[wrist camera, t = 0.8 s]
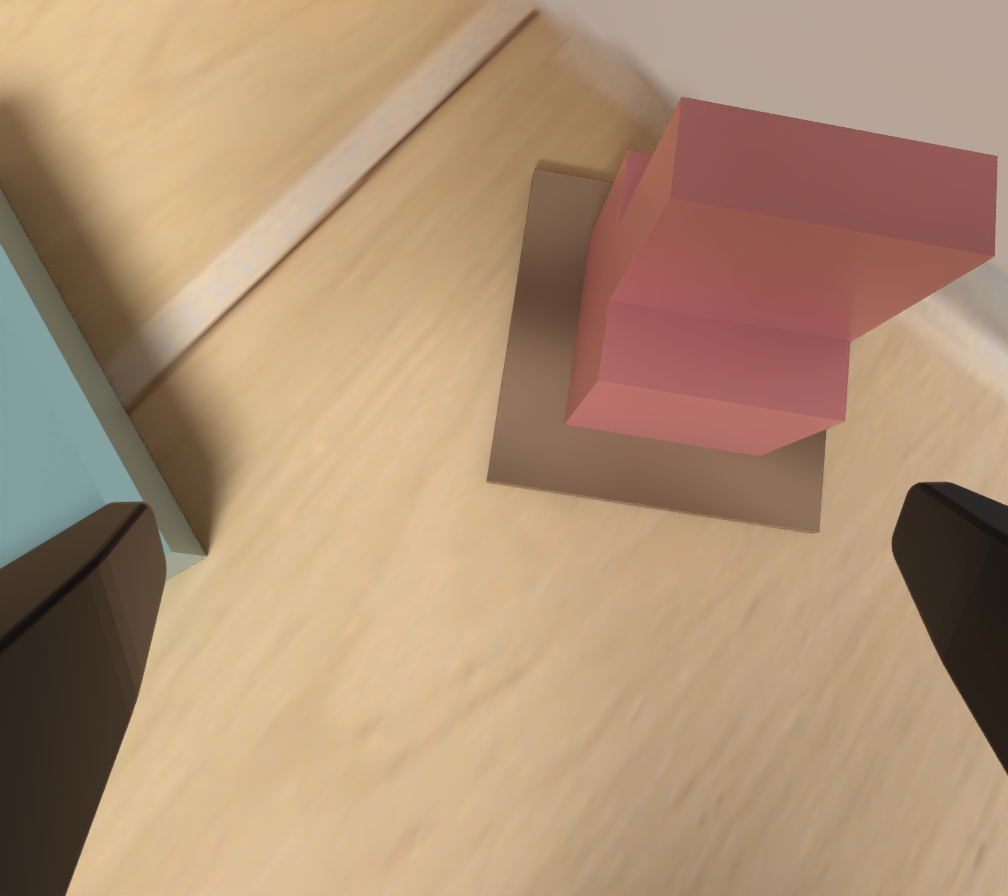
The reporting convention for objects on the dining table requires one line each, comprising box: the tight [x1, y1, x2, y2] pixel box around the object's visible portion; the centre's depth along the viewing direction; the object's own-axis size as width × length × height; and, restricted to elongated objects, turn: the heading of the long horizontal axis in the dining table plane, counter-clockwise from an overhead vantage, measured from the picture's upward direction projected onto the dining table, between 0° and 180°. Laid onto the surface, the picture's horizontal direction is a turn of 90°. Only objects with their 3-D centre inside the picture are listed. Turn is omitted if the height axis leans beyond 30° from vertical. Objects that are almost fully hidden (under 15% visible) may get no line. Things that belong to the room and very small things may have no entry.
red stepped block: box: [564, 97, 997, 456], centre depth 19 cm, size 7×6×10 cm
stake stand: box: [487, 169, 826, 533], centre depth 22 cm, size 10×10×4 cm
